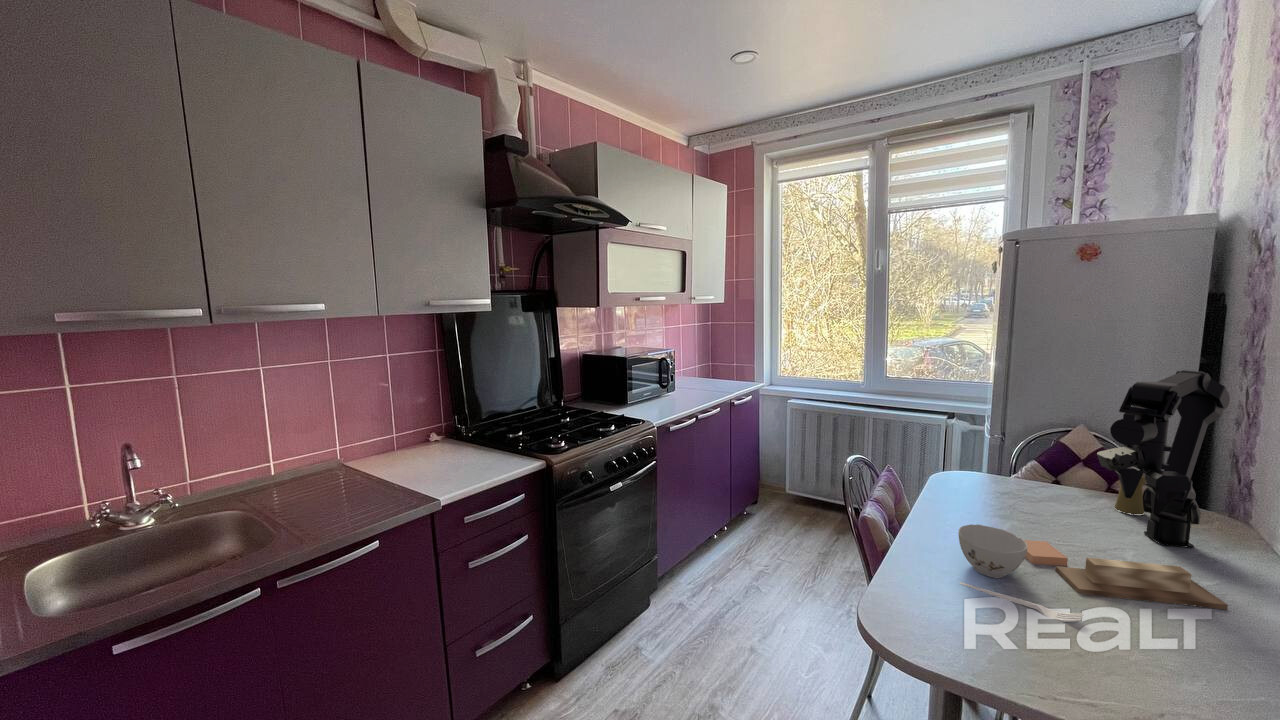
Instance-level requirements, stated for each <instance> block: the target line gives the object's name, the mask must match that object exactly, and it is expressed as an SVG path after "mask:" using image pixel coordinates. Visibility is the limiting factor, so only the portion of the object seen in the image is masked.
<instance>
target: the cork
mask: <svg viewBox="0 0 1280 720" xmlns="http://www.w3.org/2000/svg"><path fill="white" fill-rule="evenodd" d="M1144 483H1146V480H1145V475H1144V474H1143V475H1142V477H1141V479H1140V481H1139V484H1138V486H1137V488H1136V490H1135V492H1134V494H1133V496H1132V498H1125V496H1124V493H1123V489H1122V486H1121V485H1120V487H1119V489H1118V495H1117V498H1116V501H1115V504H1114V507H1115V508H1116V509H1117V510H1120V511H1122V512H1125V513H1131V514H1143V513H1144V514H1145V512H1144V509H1143V493H1144V492H1143V487H1144V486H1146V485H1145V484H1144Z"/></svg>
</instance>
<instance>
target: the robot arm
mask: <svg viewBox="0 0 1280 720" xmlns="http://www.w3.org/2000/svg"><path fill="white" fill-rule="evenodd" d="M1126 392H1127V393H1126V394H1125V396H1124V399H1123V401H1122V403H1121V406H1120V407H1119V412H1118V413H1123V416H1122V418H1121V419H1118V420H1115V421H1114V422H1113V423H1112V424H1111V426H1110V429H1109V430H1110V435H1111V437H1112V438H1113V439H1114V440H1115V442H1117V443H1119V444H1120V445H1122V446H1119V447H1114V448H1108V449H1106V450H1104V449H1103V450H1100V451H1098V452H1097V453H1096V455H1097V459H1098V460H1099V461H1098V462H1099V463H1100V466H1101V467H1102V468H1103V467H1104V468H1106V469H1107V470H1108V471H1110V472H1115V473H1116V474H1117V476H1118V479H1119V483H1120V487H1121V486H1122V489H1123V493H1124V496H1125V498H1132V496H1133V494H1134V492H1135V490H1136V488H1137V486H1138V484H1139V481H1140V479H1141V477H1142V475H1143V476H1144V477H1145V480H1146V481H1145V483H1144V484H1145V485H1144V486H1146V488H1145V489H1144V491H1143V492H1142V493H1143V509H1144V513H1148V514H1150V516H1149V518H1148V519H1147V523H1146V530H1145V531H1143V534H1144V533H1145V534H1146V535H1145V534H1144V535H1145V536H1147V535H1148V536H1149V537H1148V536H1147V537H1148V538H1150V537H1151V540H1153V539H1154V540H1153V541H1155V542H1156V541H1157V542H1156V543H1158V542H1159V543H1160V544H1159V543H1158V544H1159V545H1161V544H1162V546H1169V545H1173V546H1172V547H1181V546H1187V547H1186V548H1192V547H1193V548H1195V545H1194V544H1192V543H1191V542H1190V534H1191V527H1192V525H1200V523H1201V522H1200V521H1201V520H1200V519H1201V514H1202V512H1201V509H1200V507H1199V505H1198V502H1197V500H1196V498H1197V497H1196V496H1197V494H1196V491H1195V489H1194V488H1193V480H1192V476H1193V473H1194V470H1195V466H1196V464H1197V461H1198V457H1199V454H1200V451H1201V448H1202V444H1203V441H1204V439H1205V436H1206V433H1207V429H1208V426H1209V425H1210V424H1212V423H1213V422H1215V421H1217V420H1218V419H1220V418H1221V417H1222V415H1223V413H1224V410H1225V409H1227V408H1228V407H1229V404H1230V400H1231V399H1230V397H1231V396H1230V394H1229V392H1228V390H1227V387H1226V386H1225V385H1223V384H1221V383H1219V382H1217V381H1216V380H1214V379H1212V377H1211V376H1210V374H1209V373H1208V372H1207V373H1206V372H1204V371H1197V370H1196V371H1195V370H1184V369H1183V370H1178V371H1176V372H1175V374H1173V375H1169V376H1167V377H1166V378H1163V379H1160V380H1158V381H1136V382H1135V383H1133V384H1132V385H1131V386H1130V387H1129V389H1128V390H1127V391H1126ZM1176 411H1177V413H1178V414H1179V416H1180V421H1179V422H1178V426H1177V428H1176V433H1175V435H1174V438H1173V441H1172V444H1171V446H1169V445H1167V441H1168V432H1169V431H1168V430H1169V423H1170V419H1171V418H1172V416H1174V415H1175V412H1176ZM1166 452H1169V454H1168V457H1167V460H1166V463H1165V459H1166ZM1144 474H1145V475H1144Z"/></svg>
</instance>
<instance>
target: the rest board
mask: <svg viewBox="0 0 1280 720" xmlns="http://www.w3.org/2000/svg"><path fill="white" fill-rule="evenodd" d="M1054 569H1055V572H1056V573H1057V574H1058V575H1059V576H1060V577H1061V578H1062V579H1064V581H1066V583H1067V584H1068V585H1069V586H1071V588H1073V589H1074V591H1075V592H1077V594H1080V595H1091V596H1100V597H1108V598H1117V599H1126V600H1127V599H1128V600H1137V601H1144V600H1146V601H1144V602H1152V601H1157V602H1156V603H1163V604H1171V603H1173V604H1172V605H1180V604H1187V605H1186V606H1189V605H1196V606H1195V607H1198V606H1202V607H1201V608H1207V607H1209V608H1208V609H1218V610H1225V611H1227V610H1228V606H1229V605H1228V604H1227V603H1226V602H1224V601H1223V600H1222V599H1221V598H1218V597H1217V596H1216V595H1215V594H1213V593H1211V592H1210V591H1209V590H1207V589H1206V588H1204V587H1203V586H1201V585H1200V584H1198V583H1197V582H1196V581H1194V580H1193V579H1191V583H1190V591H1189V593H1183V592H1174V591H1164V590H1155V589H1145V588H1136V587H1126V586H1117V585H1107V584H1098V583H1093V582H1091V581H1090V580H1089V579H1088V578H1087V577H1086V576H1085V568H1079V567H1068V566H1060V565H1055V567H1054ZM1147 600H1148V601H1147ZM1174 603H1176V604H1174Z"/></svg>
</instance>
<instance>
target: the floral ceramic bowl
mask: <svg viewBox="0 0 1280 720" xmlns="http://www.w3.org/2000/svg"><path fill="white" fill-rule="evenodd" d="M958 540H959V541H958V542H959V545H960V549H961V551H962V554H963V555H964V558H965V559H966V561H968V563H969V564H970V565H971V566H972V567H973V569H974V570H975V571H976V572H978V573H979V574H981V575H984V576H987V577H990V578H995V579H999V578H1004V577H1006V575H1009V574H1011V573H1013V572H1015V571H1016V570H1017V569H1018V568H1019V567H1020V566H1021V564H1022V563H1023V562H1024V561H1025V559H1026V558H1025V556H1026V552H1027V543H1026V542H1025V541H1024V539H1023V538H1021V537H1019V536H1017V535H1015V534H1014V533H1013V532H1010V531H1007V530H1005V529H1003V528H997V527H994V526H986V525H983V524H967V525H966V524H965V525H962V526H961V527H959V528H958Z"/></svg>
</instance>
